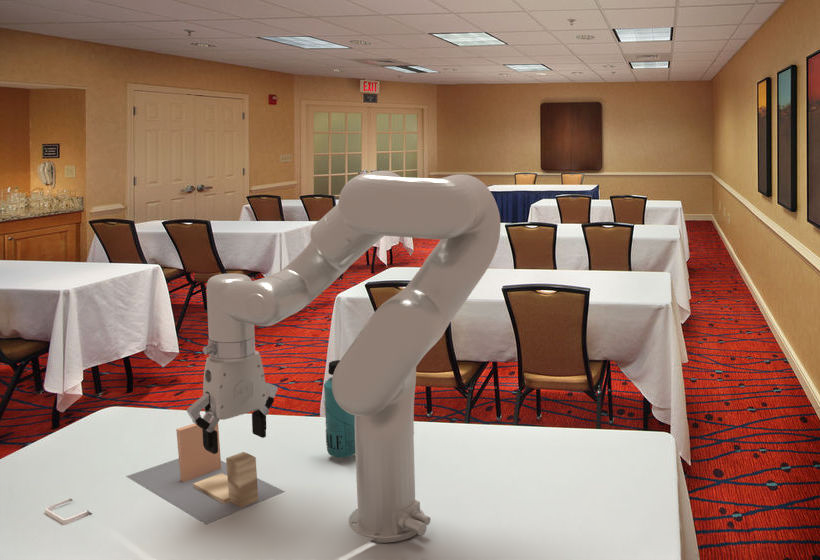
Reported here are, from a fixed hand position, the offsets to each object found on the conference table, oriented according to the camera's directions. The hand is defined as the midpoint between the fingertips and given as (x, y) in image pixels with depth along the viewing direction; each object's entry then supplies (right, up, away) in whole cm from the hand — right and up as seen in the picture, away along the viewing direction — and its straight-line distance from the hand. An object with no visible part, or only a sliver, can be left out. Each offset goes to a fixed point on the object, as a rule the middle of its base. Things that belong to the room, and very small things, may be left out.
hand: (235, 443), depth 136 cm
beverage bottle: (+17, -8, +21) cm, 28 cm away
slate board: (-8, -10, +9) cm, 16 cm away
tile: (-9, -9, +13) cm, 18 cm away
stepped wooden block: (-2, -10, +5) cm, 11 cm away
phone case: (-26, -12, +5) cm, 29 cm away
